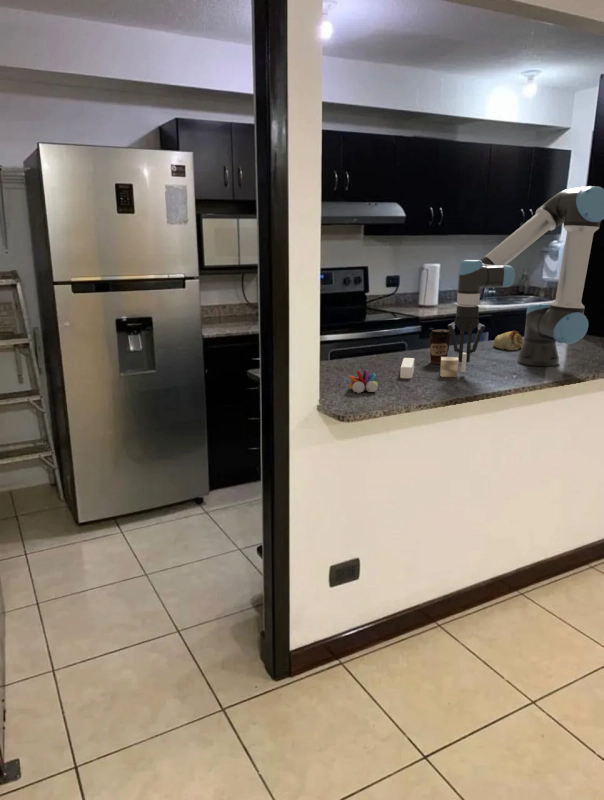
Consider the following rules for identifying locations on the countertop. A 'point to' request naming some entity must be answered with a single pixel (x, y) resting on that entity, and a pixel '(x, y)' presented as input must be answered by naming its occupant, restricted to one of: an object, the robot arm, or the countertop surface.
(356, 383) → the rainbow fan toy
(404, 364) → the white rectangular bar
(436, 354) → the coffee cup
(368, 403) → the countertop surface
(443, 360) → the block
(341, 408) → the countertop surface
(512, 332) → the pastry
